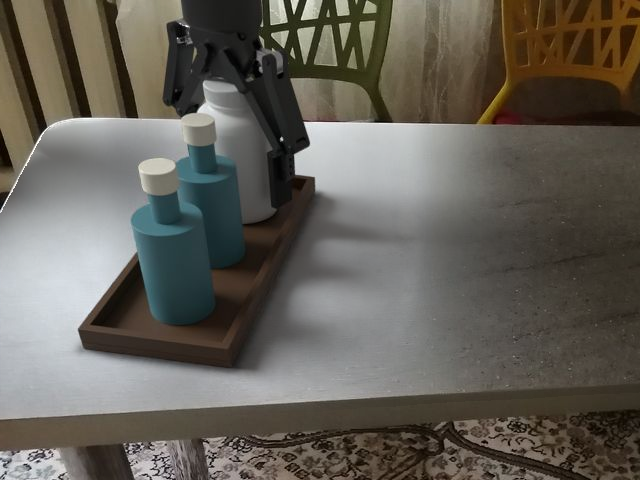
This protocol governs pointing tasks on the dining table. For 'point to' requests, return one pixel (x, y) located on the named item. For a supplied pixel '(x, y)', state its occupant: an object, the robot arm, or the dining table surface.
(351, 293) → the dining table surface
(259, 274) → the tray
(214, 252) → the bottle
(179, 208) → the bottle
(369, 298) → the dining table surface
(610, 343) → the dining table surface
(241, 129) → the pill bottle
